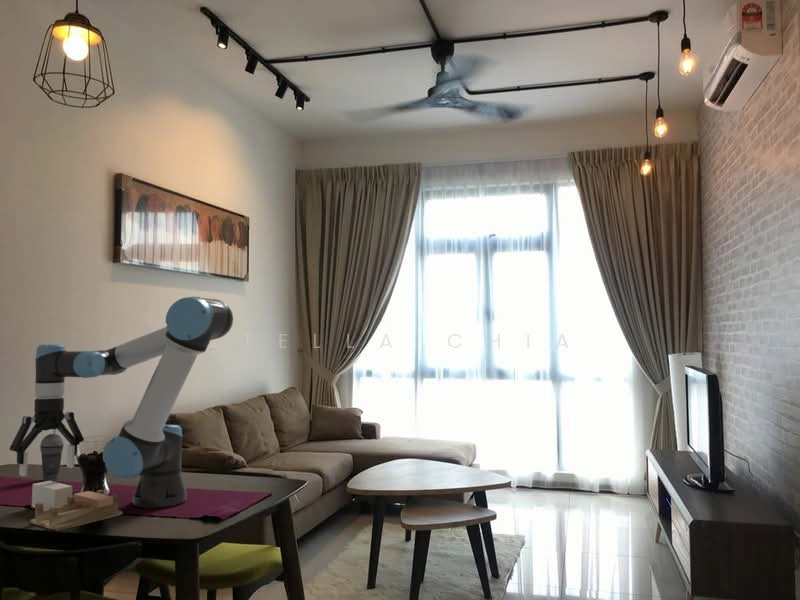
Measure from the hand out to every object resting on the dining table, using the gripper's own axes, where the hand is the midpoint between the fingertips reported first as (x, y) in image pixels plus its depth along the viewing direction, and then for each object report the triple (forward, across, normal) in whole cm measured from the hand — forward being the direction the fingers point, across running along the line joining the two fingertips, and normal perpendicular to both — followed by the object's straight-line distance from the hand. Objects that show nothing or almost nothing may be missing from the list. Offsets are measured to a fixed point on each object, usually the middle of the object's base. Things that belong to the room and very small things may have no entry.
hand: (47, 471), depth 186 cm
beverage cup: (+10, -20, -34) cm, 41 cm away
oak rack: (+10, +1, +18) cm, 21 cm away
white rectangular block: (+10, 0, +3) cm, 11 cm away
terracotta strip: (+7, -3, +18) cm, 19 cm away
